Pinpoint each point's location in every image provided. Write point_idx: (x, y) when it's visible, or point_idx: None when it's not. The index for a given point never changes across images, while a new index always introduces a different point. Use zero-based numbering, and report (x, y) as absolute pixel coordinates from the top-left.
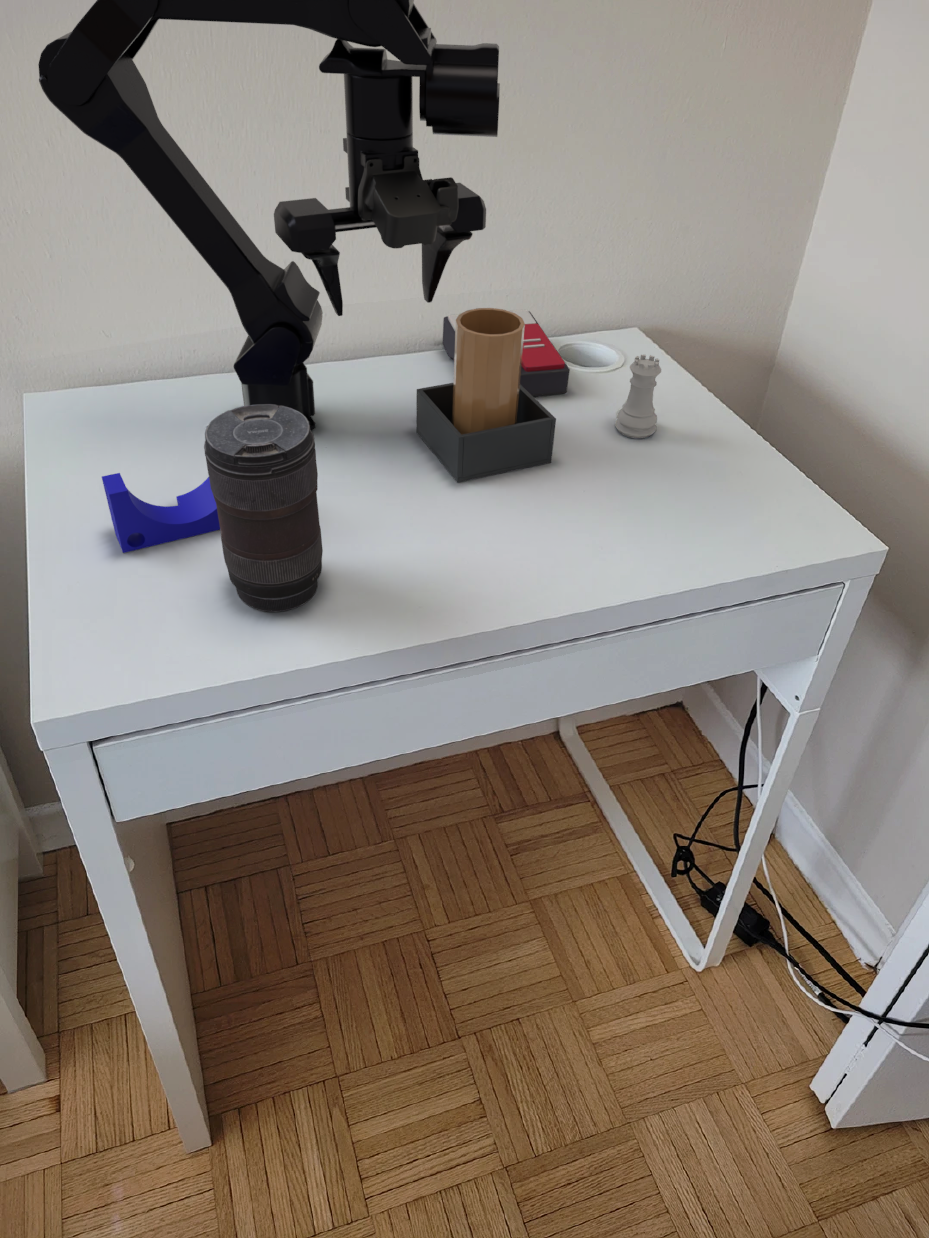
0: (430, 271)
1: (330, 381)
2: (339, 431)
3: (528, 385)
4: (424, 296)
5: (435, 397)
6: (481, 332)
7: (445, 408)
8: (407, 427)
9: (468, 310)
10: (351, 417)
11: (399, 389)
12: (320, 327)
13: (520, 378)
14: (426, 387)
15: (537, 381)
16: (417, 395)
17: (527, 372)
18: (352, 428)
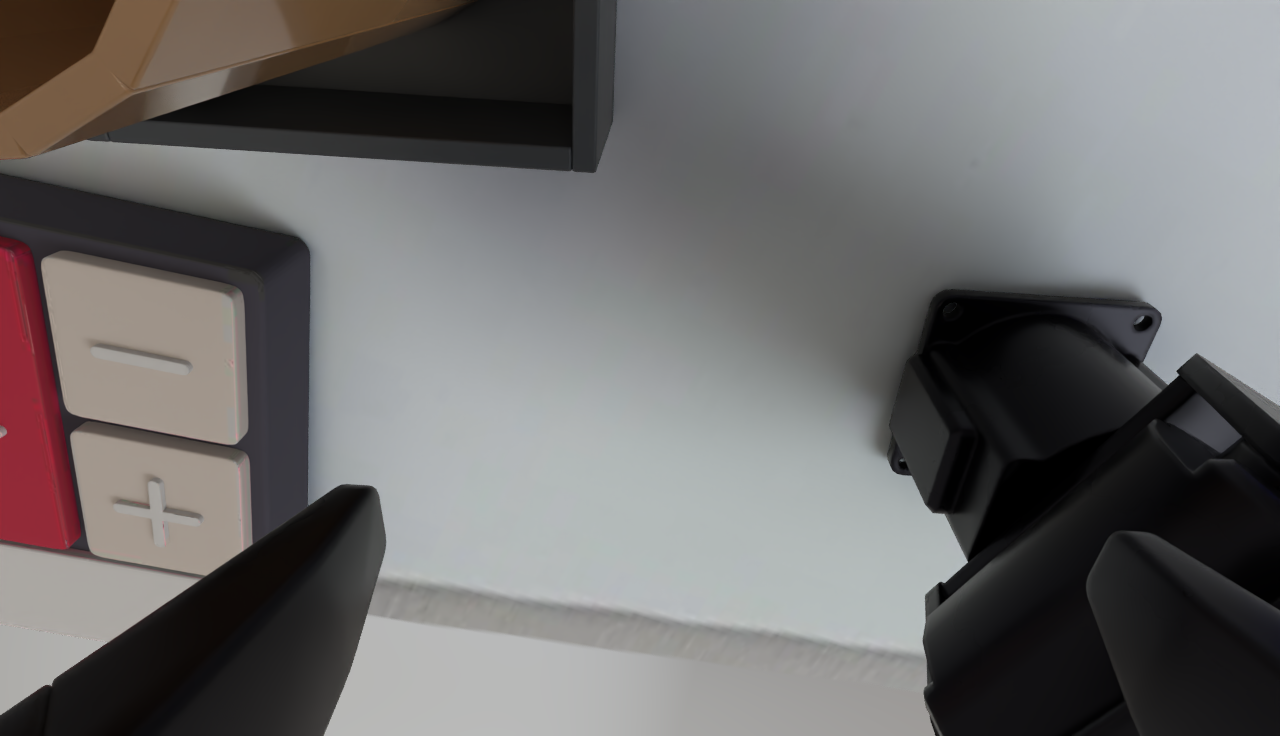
0: (220, 723)
1: (726, 534)
2: (866, 251)
3: (55, 205)
4: (377, 557)
5: (511, 130)
6: (40, 70)
7: (472, 115)
8: (626, 175)
9: (9, 150)
10: (778, 320)
11: (543, 419)
12: (949, 621)
13: (69, 224)
14: (543, 165)
15: (3, 202)
16: (598, 152)
17: (21, 236)
18: (814, 251)
